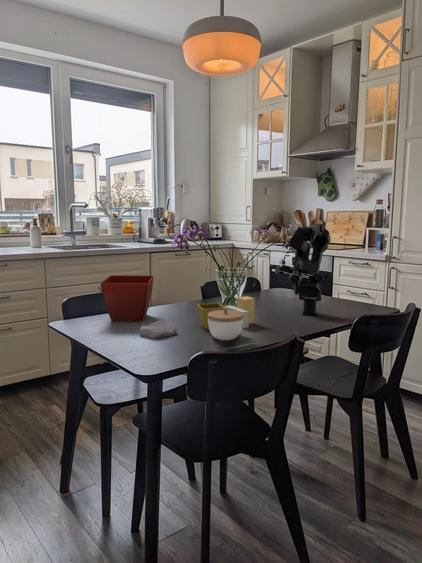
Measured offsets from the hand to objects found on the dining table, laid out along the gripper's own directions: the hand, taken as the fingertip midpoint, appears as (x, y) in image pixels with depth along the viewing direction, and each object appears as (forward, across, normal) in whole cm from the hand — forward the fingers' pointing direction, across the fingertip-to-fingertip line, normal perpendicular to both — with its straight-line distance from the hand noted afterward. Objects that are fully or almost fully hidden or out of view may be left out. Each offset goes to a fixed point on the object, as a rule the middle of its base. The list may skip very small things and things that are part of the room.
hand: (296, 294), depth 174 cm
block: (+15, -18, +7) cm, 24 cm away
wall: (+16, -20, +6) cm, 27 cm away
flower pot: (+19, -30, +6) cm, 36 cm away
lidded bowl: (+23, -27, -8) cm, 37 cm away
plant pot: (+20, -61, +28) cm, 70 cm away
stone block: (+26, -49, +3) cm, 56 cm away
